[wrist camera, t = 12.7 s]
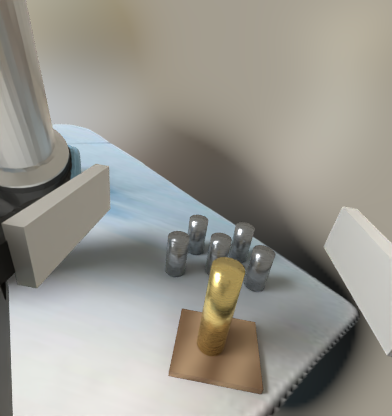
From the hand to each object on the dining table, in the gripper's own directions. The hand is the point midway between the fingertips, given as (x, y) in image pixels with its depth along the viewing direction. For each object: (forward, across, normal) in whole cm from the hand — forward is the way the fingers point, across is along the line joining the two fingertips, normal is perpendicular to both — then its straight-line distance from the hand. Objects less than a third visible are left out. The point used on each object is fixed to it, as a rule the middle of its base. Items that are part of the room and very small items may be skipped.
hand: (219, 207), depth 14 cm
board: (+10, +4, -28) cm, 30 cm away
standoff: (+10, +3, -27) cm, 29 cm away
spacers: (+29, +3, -28) cm, 41 cm away
